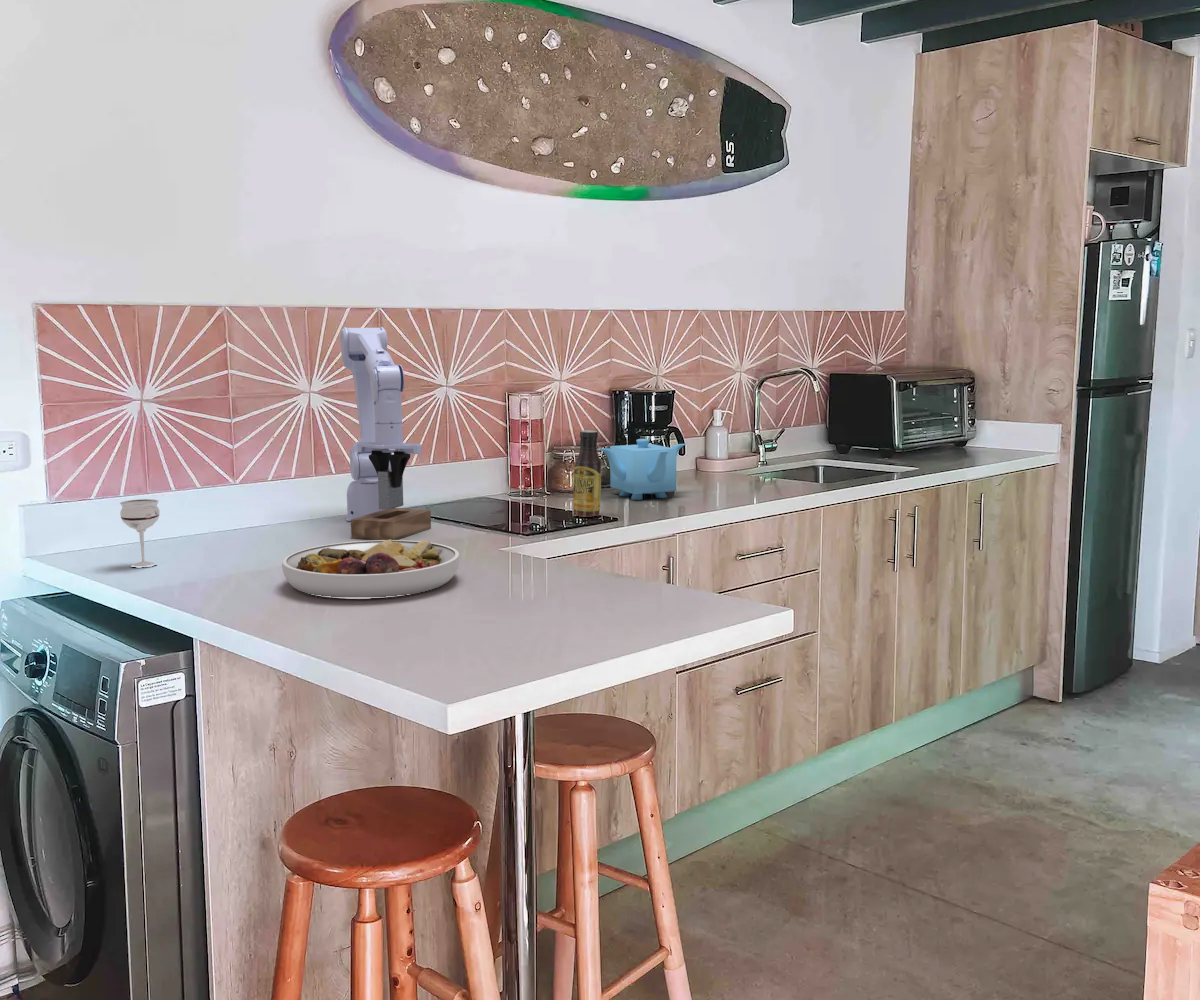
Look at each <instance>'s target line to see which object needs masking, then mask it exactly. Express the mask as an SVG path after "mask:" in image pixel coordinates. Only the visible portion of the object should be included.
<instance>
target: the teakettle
mask: <svg viewBox="0 0 1200 1000" xmlns="http://www.w3.org/2000/svg"><path fill="white" fill-rule="evenodd" d="M635 441H636V444H624V445H611V446H609V447H610V448H606V447H605V448H604V447H603V448H600V447H599V448H598V450H599V451H601V452H603V453H604V454H605V455H606V457H607V460H608V464H609V468H610V469H609V470H610V474H609V475H610V477H609V479H610V483H609V484H610V485H609V486H610V487H609V488H612V489H616V490H619V491H620V492H619V494H618V496H619V497H629V496H631V497H630V500H632V501H641V500H643V495H655V498H658V499H667V498H668V495H667V494H666V493H668V492H677V456H678V453H679V451H680V449H681V448H682V447H684V446H686V445H687V443H677V444H674V445H673V446H672V447H669V446H663V445H660V444H659V445H658V444H654V443H653V444H652V443H650V439H648V438H638V439H636V440H635ZM631 494H632V495H631Z"/></svg>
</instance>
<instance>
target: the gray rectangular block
mask: <svg viewBox="0 0 1200 1000" xmlns="http://www.w3.org/2000/svg"><path fill="white" fill-rule="evenodd" d="M403 477H404V475H403V476H402V481H401V487H397V488H393V484H392V470H391V469H387V470H382V471H378V494H379V509H385V510H390V509H393V508H400V507H403V506H404V484H403V483H404V481H403V479H404V478H403Z"/></svg>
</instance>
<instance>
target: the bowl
mask: <svg viewBox="0 0 1200 1000" xmlns="http://www.w3.org/2000/svg"><path fill="white" fill-rule="evenodd" d="M281 564H282V572H283V575H284V578H285V579H286V581H287V582H288V584H289V585H290V586H292V588H294V589H296V590H297V591H299V592H301V591H302V592H301V593H303V592H305V593H304V594H306V593H309V594H314V595H321V596H331V597H386V596H397V595H407V594H414V595H416V594H415V593H419V594H421V593H420V592H423V593H426V592H425V591H427V592H430V591H432V589H433V590H436V589H438V588H439V587H442V586H445V584H447V583H448V582H449V581H450V580H451V579H452V578H453V577H454V576H455V575H456V573H457V571H458V569H459V565H460V552H459V550H457V549H455V548H454V547H451V546H448V545H445V544H441V543H435V542H430V541H429V540H427V541H426V540H421V541H420V540H405V539H399V540H391V539H389V540H357V541H345V542H337V543H335V542H334V543H330V544H322V545H317V546H312V547H309V548H304V549H300V550H297V551H295V552H292V553H290V554H288V555H286V556H285V557H283V559H282V561H281ZM435 588H436V589H435ZM429 590H430V591H429ZM309 594H308V595H309Z"/></svg>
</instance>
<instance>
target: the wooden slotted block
mask: <svg viewBox="0 0 1200 1000" xmlns="http://www.w3.org/2000/svg"><path fill="white" fill-rule="evenodd" d="M431 511H432V510H431V509H419V508H418V509H417V508H402V507H401V508H400V507H397V508H393V509H390V510H381V511H378V512H374V513H371V514H368V515H364V516H361V517H358V518H354V519H351V521H350V535H351V536H350V538H351V539H354V540H366V541H371V540H389V539H391V540H403V539H404V538H407V537H410V536H412V535H416V534H418V533H421V532H424V531H427V530H429V529H432V513H431Z"/></svg>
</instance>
